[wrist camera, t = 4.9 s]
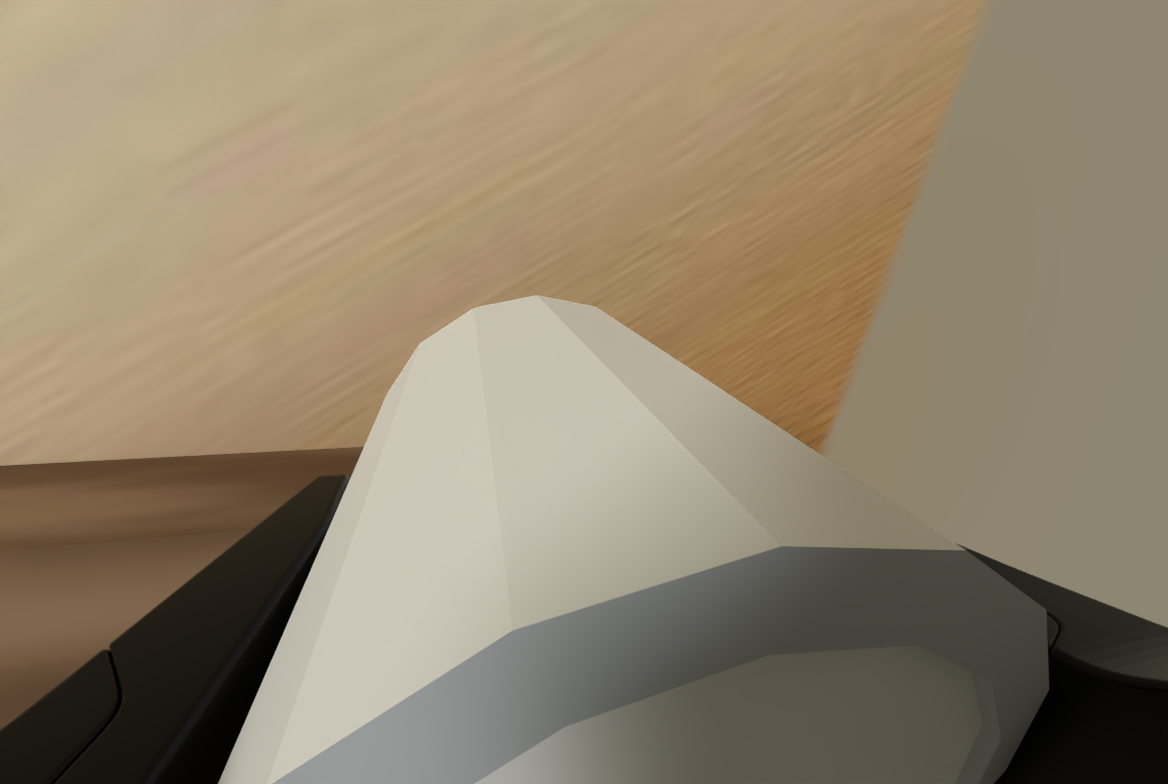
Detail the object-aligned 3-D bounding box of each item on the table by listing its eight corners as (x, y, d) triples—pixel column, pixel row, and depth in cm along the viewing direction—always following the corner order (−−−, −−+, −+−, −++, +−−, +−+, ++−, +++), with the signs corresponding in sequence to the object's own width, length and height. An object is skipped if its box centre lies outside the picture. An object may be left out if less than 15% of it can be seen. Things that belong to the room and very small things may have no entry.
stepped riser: (576, 625, 25) (599, 703, 21) (100, 700, 20) (28, 819, 16) (600, 435, 20) (634, 495, 17) (-17, 466, 15) (-152, 564, 12)
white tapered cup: (416, 185, 7) (328, 381, 1) (752, 340, 10) (1211, 630, 4) (298, 537, 10) (58, 1224, 3) (604, 586, 12) (767, 1019, 6)
